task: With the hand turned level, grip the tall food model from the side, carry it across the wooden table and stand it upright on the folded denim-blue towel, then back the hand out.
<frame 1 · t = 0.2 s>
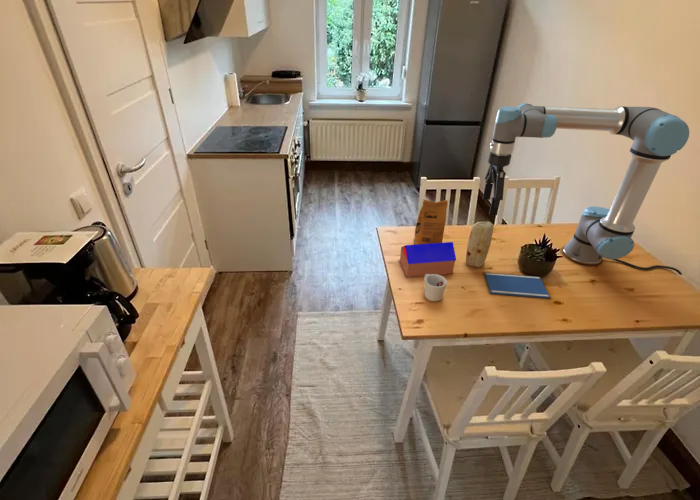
hand: (489, 206, 148), 28 cm above the table, tool pointing down, fingers open, 13 cm apart
cup: (430, 295, 146), on the table
coffee package: (427, 243, 177), on the table
food model: (474, 264, 164), on the table
house: (425, 267, 161), on the table
towel: (515, 285, 152), on the table
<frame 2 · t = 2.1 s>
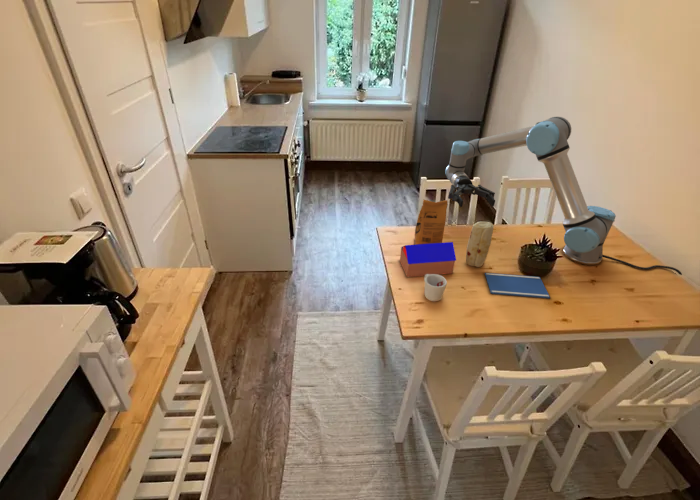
hand: (477, 203, 159), 24 cm above the table, tool horizontal, fingers open, 13 cm apart
nothing on the table moved.
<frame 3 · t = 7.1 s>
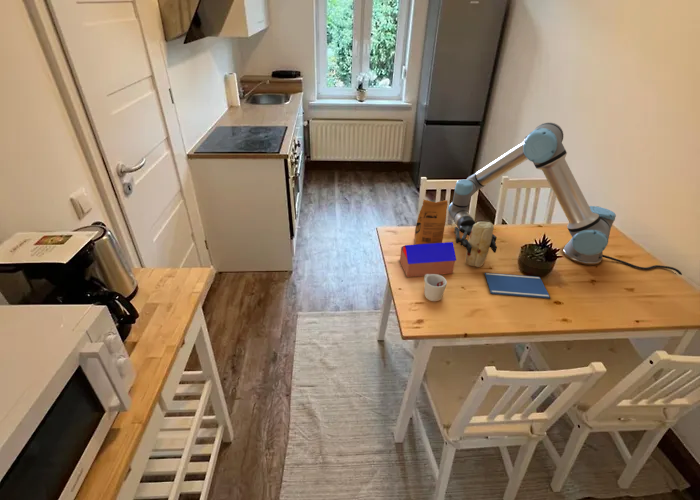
hand: (482, 250, 155), 10 cm above the table, tool horizontal, fingers closed on food model, 10 cm apart
food model: (474, 264, 164), on the table, touching gripper
everything else where it was.
when the fingers open (11 cm above the table, at t = 15.7 s): food model stays where it is, resting on towel.
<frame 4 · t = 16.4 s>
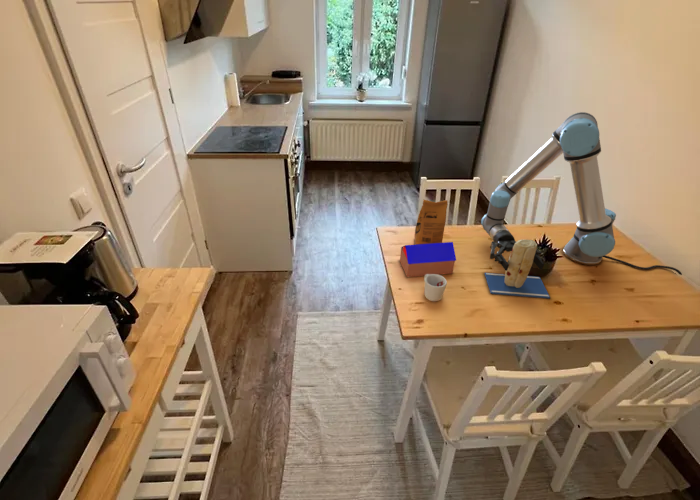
hand: (524, 267, 143), 11 cm above the table, tool horizontal, fingers open, 13 cm apart
food model: (513, 284, 152), resting on towel
everything else where it was.
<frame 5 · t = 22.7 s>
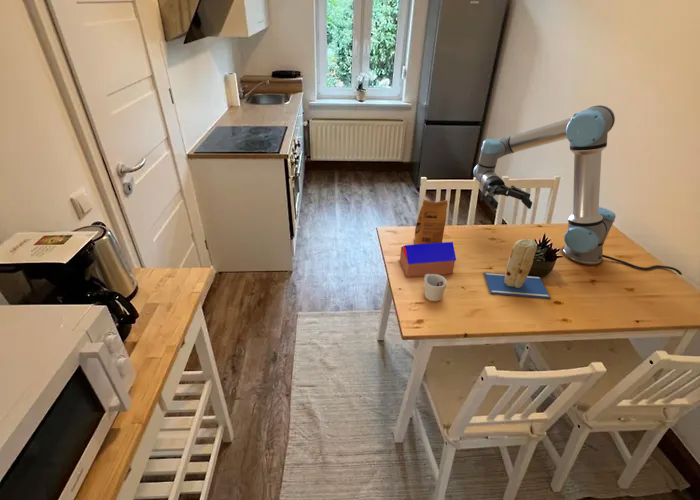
hand: (513, 206, 148), 28 cm above the table, tool horizontal, fingers open, 13 cm apart
nothing on the table moved.
at the end: food model inside the target area on the towel (1.1 cm from its centre), point 0.4 cm above the towel's base; food model tilted 0°; food model touching towel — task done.
